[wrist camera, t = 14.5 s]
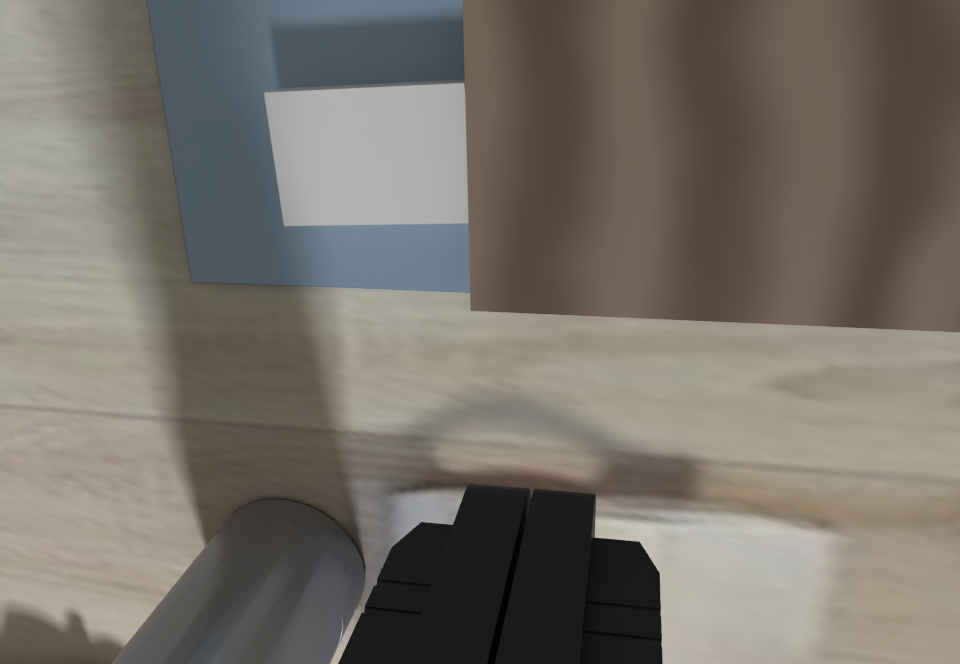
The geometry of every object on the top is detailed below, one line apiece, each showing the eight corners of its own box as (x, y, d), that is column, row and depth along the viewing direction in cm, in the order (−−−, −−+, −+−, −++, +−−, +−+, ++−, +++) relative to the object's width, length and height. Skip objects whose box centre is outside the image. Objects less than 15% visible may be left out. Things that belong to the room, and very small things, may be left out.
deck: (992, -20, 31) (1039, -24, 28) (930, 299, 36) (963, 332, 32) (481, -7, 35) (462, -9, 31) (486, 282, 40) (470, 310, 36)
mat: (469, -21, 35) (468, -21, 34) (476, 290, 40) (475, 292, 40) (148, -12, 37) (145, -12, 37) (194, 279, 42) (191, 281, 42)
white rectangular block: (473, 79, 36) (464, 82, 34) (481, 212, 38) (473, 223, 36) (282, 88, 38) (264, 92, 36) (300, 215, 40) (284, 225, 38)
